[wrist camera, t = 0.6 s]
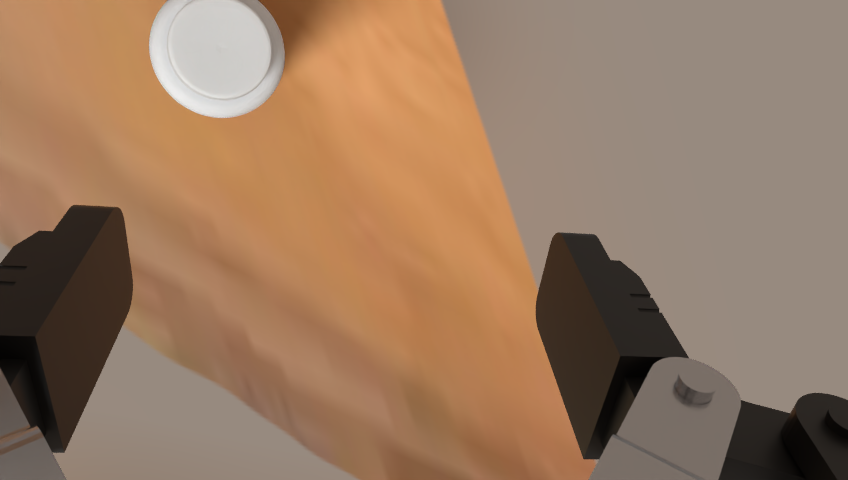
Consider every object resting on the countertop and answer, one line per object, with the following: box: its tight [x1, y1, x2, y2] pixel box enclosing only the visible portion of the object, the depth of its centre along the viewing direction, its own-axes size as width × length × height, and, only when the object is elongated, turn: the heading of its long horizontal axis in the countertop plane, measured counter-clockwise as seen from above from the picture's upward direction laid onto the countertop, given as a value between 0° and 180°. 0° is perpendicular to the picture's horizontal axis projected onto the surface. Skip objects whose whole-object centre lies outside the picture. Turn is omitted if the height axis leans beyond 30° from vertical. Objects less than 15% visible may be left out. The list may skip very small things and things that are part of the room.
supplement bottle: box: [149, 0, 285, 118], centre depth 31 cm, size 6×6×10 cm
